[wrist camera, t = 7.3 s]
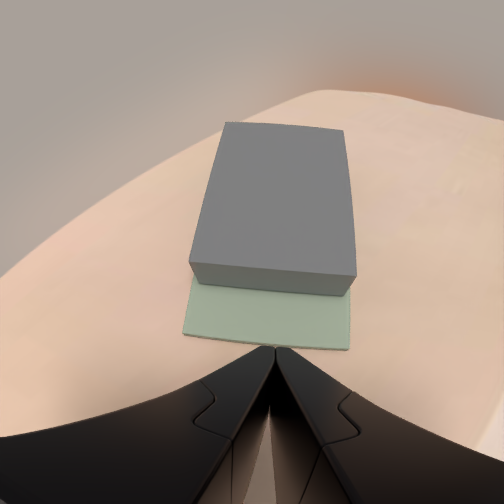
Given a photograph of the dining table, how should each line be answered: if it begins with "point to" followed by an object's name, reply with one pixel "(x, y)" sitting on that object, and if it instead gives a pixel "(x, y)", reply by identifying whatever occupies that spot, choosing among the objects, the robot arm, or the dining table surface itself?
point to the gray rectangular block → (277, 212)
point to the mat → (268, 317)
